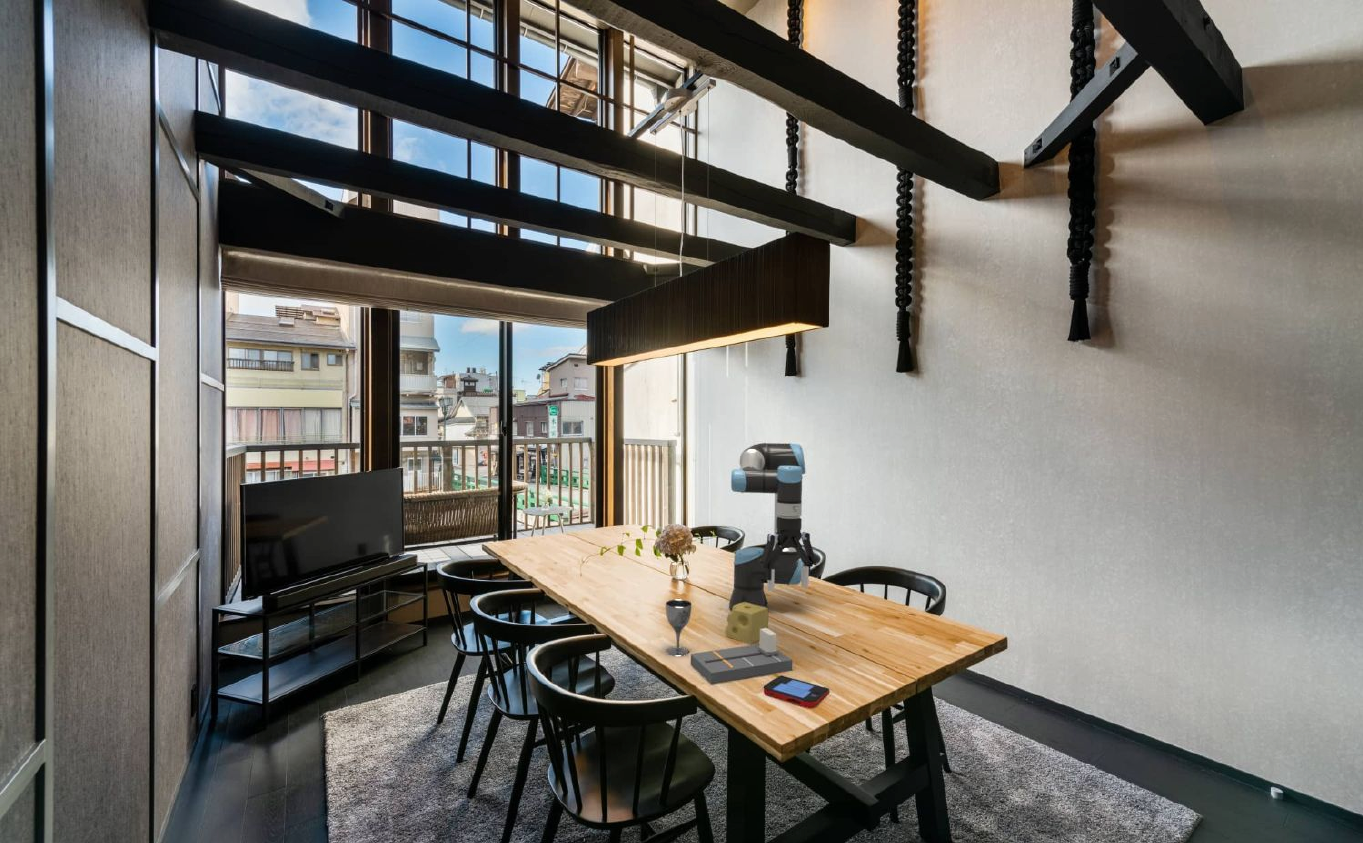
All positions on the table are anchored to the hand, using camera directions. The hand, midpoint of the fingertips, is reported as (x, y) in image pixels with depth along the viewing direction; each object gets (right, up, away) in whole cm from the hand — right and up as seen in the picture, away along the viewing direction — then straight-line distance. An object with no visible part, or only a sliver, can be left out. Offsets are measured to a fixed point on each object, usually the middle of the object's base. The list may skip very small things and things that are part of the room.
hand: (787, 588), depth 169 cm
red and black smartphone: (-2, -21, -22) cm, 31 cm away
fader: (-7, -18, -3) cm, 19 cm away
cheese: (-10, -22, +18) cm, 30 cm away
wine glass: (-34, -21, +4) cm, 40 cm away
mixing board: (-15, -21, -7) cm, 27 cm away
